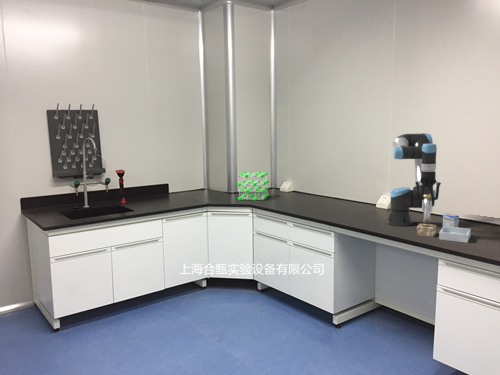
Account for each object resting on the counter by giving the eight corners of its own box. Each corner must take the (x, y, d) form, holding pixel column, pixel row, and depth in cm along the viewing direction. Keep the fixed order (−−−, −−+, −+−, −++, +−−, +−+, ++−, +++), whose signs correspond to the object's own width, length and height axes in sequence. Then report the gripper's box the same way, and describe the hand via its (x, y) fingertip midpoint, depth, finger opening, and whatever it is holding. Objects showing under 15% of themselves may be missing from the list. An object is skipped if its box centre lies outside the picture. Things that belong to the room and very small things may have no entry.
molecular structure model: (264, 201, 358) (263, 174, 354) (237, 200, 364) (236, 174, 360) (269, 196, 381) (268, 171, 378) (244, 196, 387) (243, 171, 384)
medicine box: (442, 227, 248) (442, 214, 247) (447, 226, 250) (448, 213, 249) (453, 230, 241) (453, 216, 240) (458, 229, 243) (459, 215, 242)
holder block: (416, 235, 233) (416, 226, 233) (419, 231, 241) (420, 223, 240) (433, 237, 228) (433, 228, 228) (436, 233, 236) (436, 225, 235)
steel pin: (421, 222, 233) (421, 195, 231) (422, 220, 237) (423, 193, 235) (430, 223, 230) (431, 195, 228) (432, 221, 235) (433, 194, 232)
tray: (438, 239, 224) (439, 232, 223) (443, 232, 237) (443, 226, 236) (467, 242, 216) (467, 235, 215) (470, 235, 229) (470, 228, 228)
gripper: (411, 171, 231) (410, 211, 234) (443, 172, 222) (441, 213, 225) (414, 169, 237) (413, 208, 241) (445, 170, 228) (443, 211, 231)
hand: (427, 211), depth 233 cm, fingers closed on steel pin, 3 cm apart
